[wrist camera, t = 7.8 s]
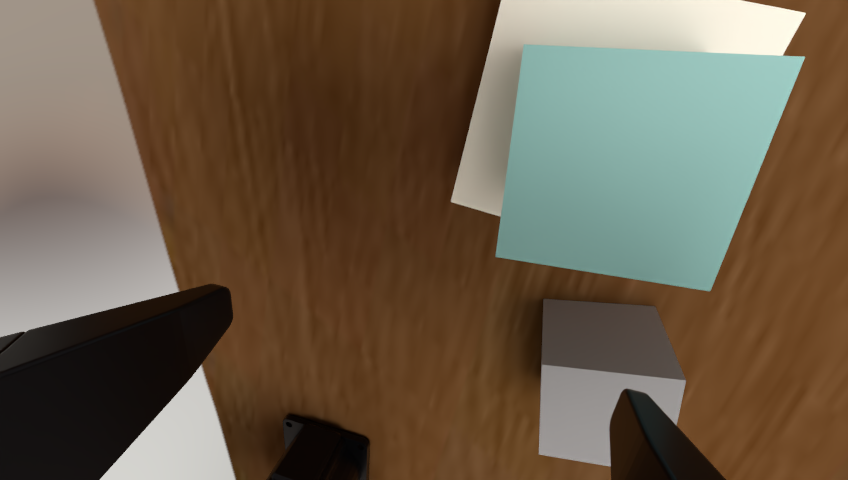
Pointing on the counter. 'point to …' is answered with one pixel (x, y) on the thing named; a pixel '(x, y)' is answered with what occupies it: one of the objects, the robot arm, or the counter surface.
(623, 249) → the teal block
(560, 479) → the counter surface
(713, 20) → the cream base block
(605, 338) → the light gray block
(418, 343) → the counter surface
